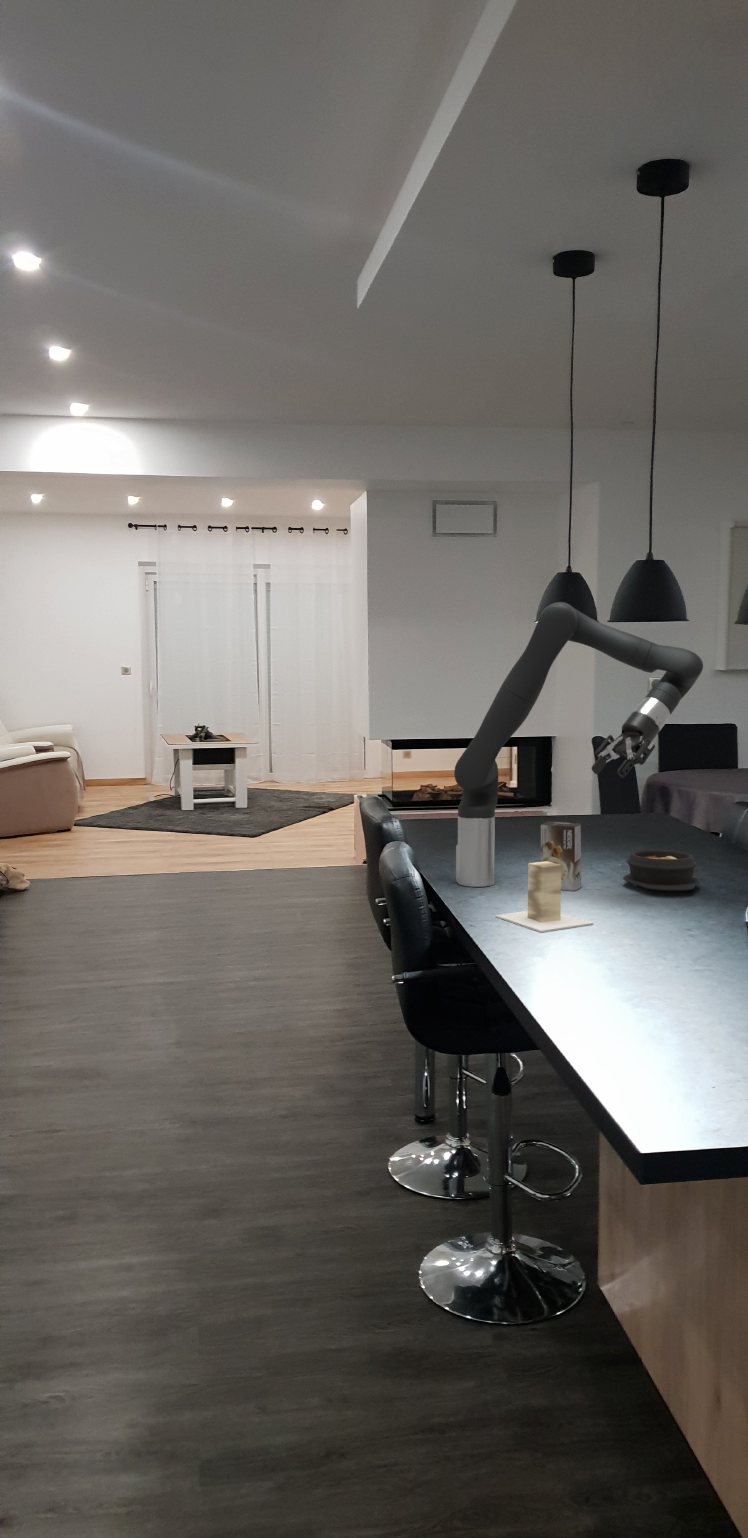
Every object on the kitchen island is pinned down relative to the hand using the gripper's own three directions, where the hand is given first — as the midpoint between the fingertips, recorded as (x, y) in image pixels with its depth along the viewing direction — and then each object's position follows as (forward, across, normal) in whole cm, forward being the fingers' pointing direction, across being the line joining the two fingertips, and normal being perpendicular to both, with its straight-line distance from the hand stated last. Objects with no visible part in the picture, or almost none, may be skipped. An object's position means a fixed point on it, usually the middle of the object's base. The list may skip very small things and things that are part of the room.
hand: (606, 773), depth 240 cm
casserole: (+3, -10, +41) cm, 42 cm away
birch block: (+36, +4, +7) cm, 37 cm away
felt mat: (+36, +4, +7) cm, 37 cm away
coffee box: (+18, -22, +26) cm, 38 cm away
